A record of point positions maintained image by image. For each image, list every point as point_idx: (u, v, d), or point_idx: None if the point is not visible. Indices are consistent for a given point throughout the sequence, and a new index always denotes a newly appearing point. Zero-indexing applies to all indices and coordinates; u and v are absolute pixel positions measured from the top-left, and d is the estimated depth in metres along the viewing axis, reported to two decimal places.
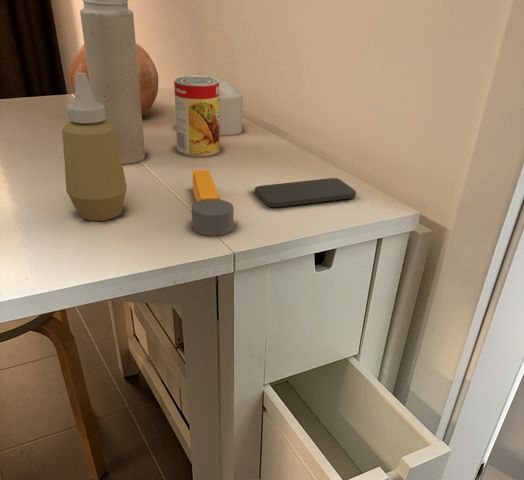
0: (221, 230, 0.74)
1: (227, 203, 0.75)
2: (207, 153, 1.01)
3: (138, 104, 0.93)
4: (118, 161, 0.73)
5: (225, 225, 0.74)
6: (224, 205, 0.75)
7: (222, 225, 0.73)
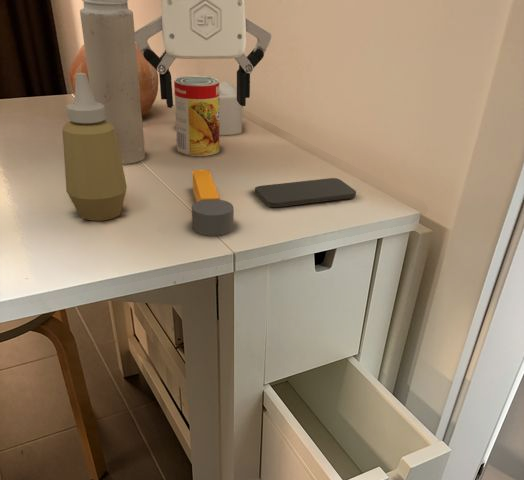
0: (221, 230, 0.74)
1: (227, 203, 0.75)
2: (207, 153, 1.01)
3: (138, 104, 0.93)
4: (118, 161, 0.73)
5: (225, 225, 0.74)
6: (224, 205, 0.75)
7: (222, 225, 0.73)
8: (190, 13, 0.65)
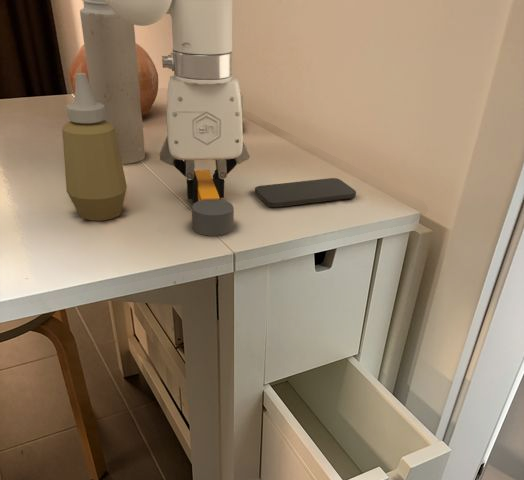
0: (221, 230, 0.74)
1: (227, 203, 0.75)
2: None
3: (138, 104, 0.93)
4: (118, 161, 0.73)
5: (225, 225, 0.74)
6: (224, 205, 0.75)
7: (222, 225, 0.73)
8: (193, 123, 0.73)
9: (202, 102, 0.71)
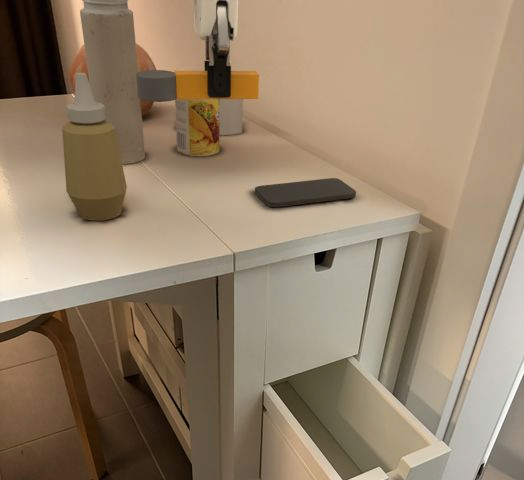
0: (138, 93, 0.76)
1: (164, 77, 0.74)
2: (207, 153, 1.01)
3: (138, 104, 0.93)
4: (118, 161, 0.73)
5: (139, 89, 0.75)
6: (158, 76, 0.75)
7: (138, 87, 0.76)
8: None
9: None
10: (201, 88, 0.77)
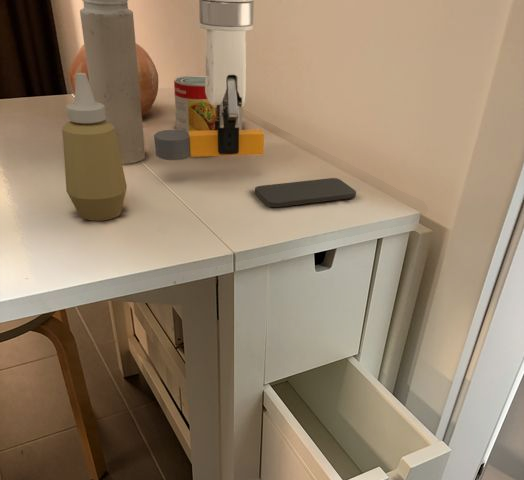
0: (156, 152, 0.85)
1: (179, 138, 0.83)
2: None
3: (138, 104, 0.93)
4: (118, 161, 0.73)
5: (157, 149, 0.84)
6: (174, 137, 0.84)
7: (156, 147, 0.84)
8: (206, 64, 0.82)
9: (206, 45, 0.79)
10: (212, 147, 0.86)
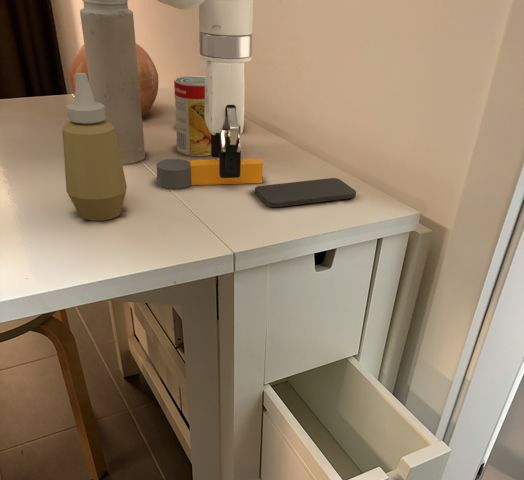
0: (158, 181, 0.88)
1: (180, 168, 0.86)
2: (207, 153, 1.01)
3: (138, 104, 0.93)
4: (118, 161, 0.73)
5: (159, 178, 0.87)
6: (175, 167, 0.86)
7: (158, 176, 0.87)
8: (205, 92, 0.84)
9: (206, 75, 0.81)
10: (212, 176, 0.89)
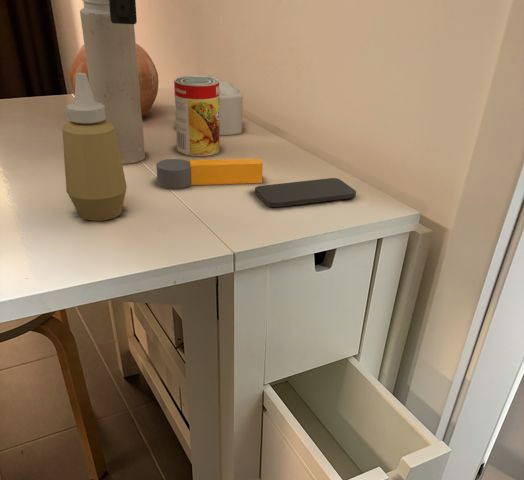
0: (158, 181, 0.88)
1: (180, 168, 0.86)
2: (207, 153, 1.01)
3: (138, 104, 0.93)
4: (118, 161, 0.73)
5: (159, 178, 0.87)
6: (175, 167, 0.86)
7: (158, 176, 0.87)
8: None
9: None
10: (212, 176, 0.89)
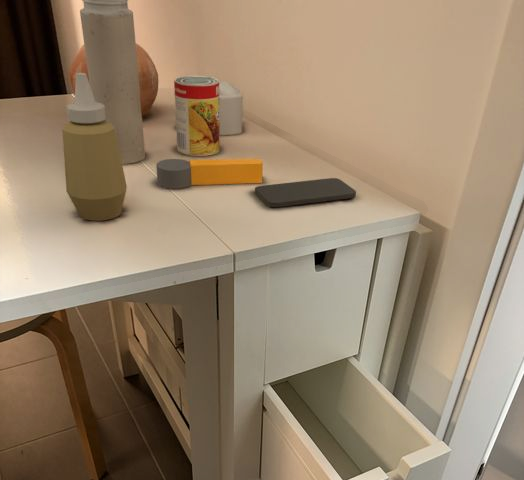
0: (158, 181, 0.88)
1: (180, 168, 0.86)
2: (207, 153, 1.01)
3: (138, 104, 0.93)
4: (118, 161, 0.73)
5: (159, 178, 0.87)
6: (175, 167, 0.86)
7: (158, 176, 0.87)
8: None
9: None
10: (212, 176, 0.89)
